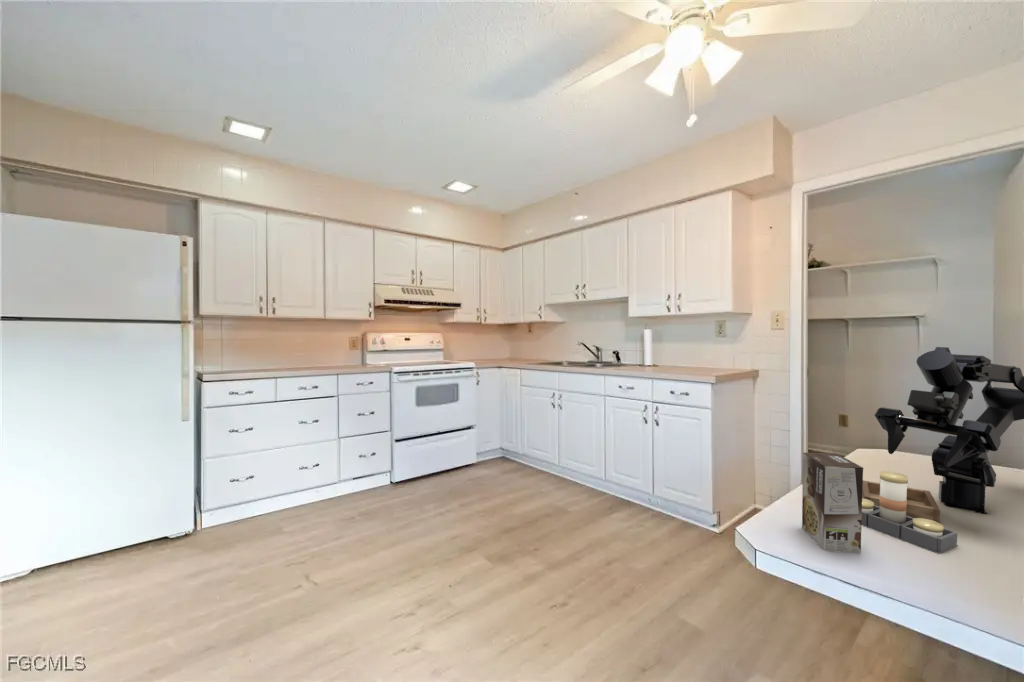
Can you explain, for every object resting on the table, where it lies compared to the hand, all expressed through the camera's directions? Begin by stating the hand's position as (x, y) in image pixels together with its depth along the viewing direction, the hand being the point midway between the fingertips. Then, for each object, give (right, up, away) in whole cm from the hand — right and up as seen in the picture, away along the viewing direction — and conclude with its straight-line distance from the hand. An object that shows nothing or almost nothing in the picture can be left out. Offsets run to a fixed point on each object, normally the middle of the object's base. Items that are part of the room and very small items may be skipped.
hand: (916, 459), depth 90 cm
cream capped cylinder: (-7, -13, -3) cm, 15 cm away
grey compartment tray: (-7, -14, -3) cm, 16 cm away
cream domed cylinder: (-10, -13, +2) cm, 16 cm away
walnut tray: (+3, -13, +7) cm, 15 cm away
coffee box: (-22, -14, -6) cm, 27 cm away
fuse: (-5, -14, -8) cm, 16 cm away
